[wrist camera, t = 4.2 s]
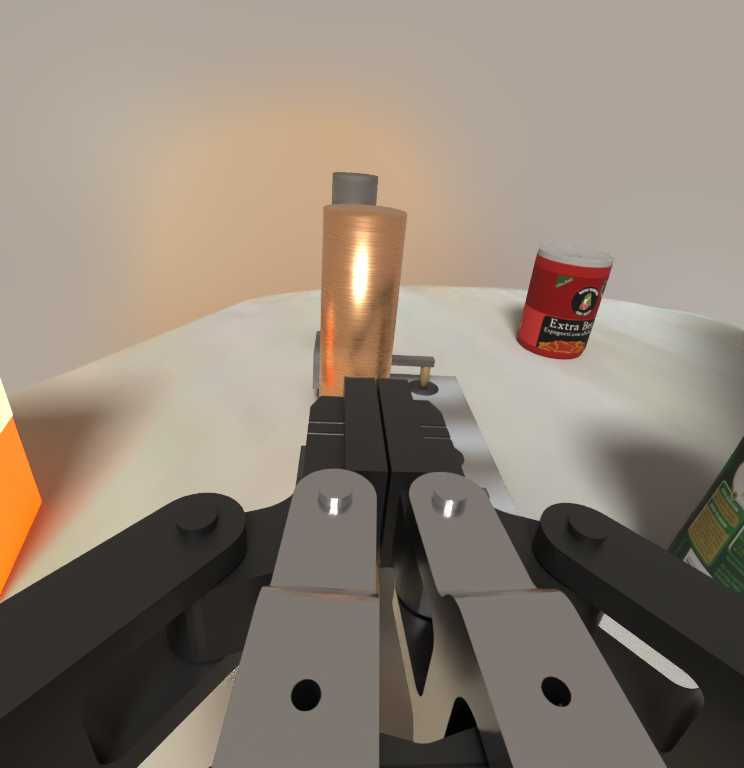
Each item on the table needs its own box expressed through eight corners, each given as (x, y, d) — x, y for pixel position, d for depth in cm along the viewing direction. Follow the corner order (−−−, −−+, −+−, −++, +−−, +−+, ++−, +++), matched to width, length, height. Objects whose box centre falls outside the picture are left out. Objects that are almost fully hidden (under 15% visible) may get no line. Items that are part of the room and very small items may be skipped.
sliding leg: (301, 493, 27) (302, 197, 20) (468, 497, 28) (533, 214, 20) (293, 562, 23) (290, 215, 15) (491, 563, 24) (585, 236, 16)
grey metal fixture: (315, 378, 43) (320, 169, 35) (454, 384, 44) (490, 182, 36) (286, 634, 21) (278, 232, 13) (563, 633, 22) (724, 262, 14)
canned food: (537, 361, 50) (564, 260, 45) (504, 333, 57) (525, 242, 52) (598, 360, 52) (632, 262, 47) (559, 332, 59) (584, 244, 54)
